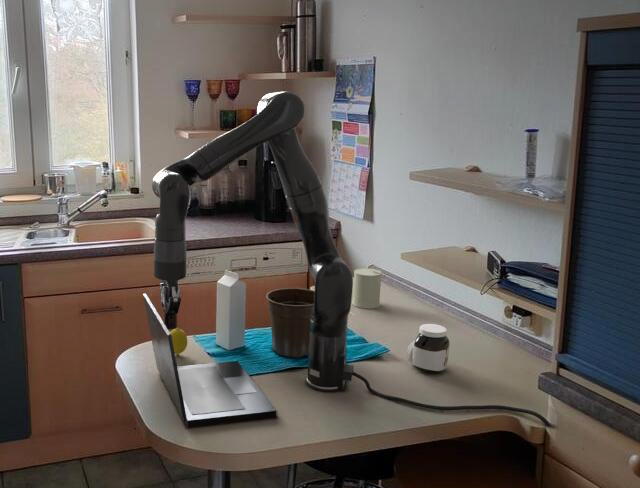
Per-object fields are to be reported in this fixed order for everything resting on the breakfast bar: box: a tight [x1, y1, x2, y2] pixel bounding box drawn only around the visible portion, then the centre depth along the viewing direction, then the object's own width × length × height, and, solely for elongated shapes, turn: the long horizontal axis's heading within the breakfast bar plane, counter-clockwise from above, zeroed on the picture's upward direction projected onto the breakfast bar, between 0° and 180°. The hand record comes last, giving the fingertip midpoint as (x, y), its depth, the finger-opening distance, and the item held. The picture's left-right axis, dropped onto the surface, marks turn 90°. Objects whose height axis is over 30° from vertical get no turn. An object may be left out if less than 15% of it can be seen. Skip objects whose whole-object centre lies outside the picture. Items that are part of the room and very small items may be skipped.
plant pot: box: [265, 287, 315, 358], centre depth 208 cm, size 16×16×16 cm
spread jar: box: [406, 323, 450, 375], centre depth 198 cm, size 12×11×12 cm
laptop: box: [177, 360, 278, 429], centre depth 180 cm, size 21×30×2 cm
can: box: [351, 267, 383, 310], centre depth 249 cm, size 9×9×12 cm
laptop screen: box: [142, 292, 187, 422], centre depth 175 cm, size 21×30×1 cm
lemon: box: [169, 327, 188, 356], centre depth 204 cm, size 6×6×8 cm
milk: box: [215, 269, 247, 351], centre depth 210 cm, size 6×6×22 cm
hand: (169, 328), depth 174 cm, fingers closed
